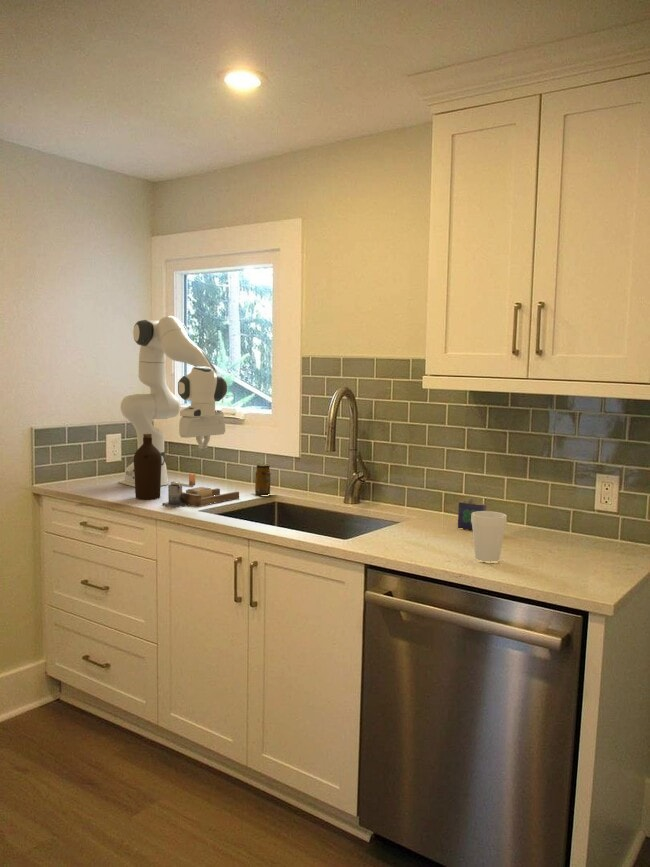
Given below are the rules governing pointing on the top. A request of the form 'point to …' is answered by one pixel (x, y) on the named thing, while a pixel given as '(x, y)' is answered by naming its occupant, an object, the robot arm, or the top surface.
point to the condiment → (262, 480)
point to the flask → (468, 512)
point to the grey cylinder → (175, 496)
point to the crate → (200, 491)
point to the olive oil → (147, 470)
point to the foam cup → (488, 534)
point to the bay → (198, 501)
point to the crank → (191, 483)
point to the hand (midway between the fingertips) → (203, 448)
